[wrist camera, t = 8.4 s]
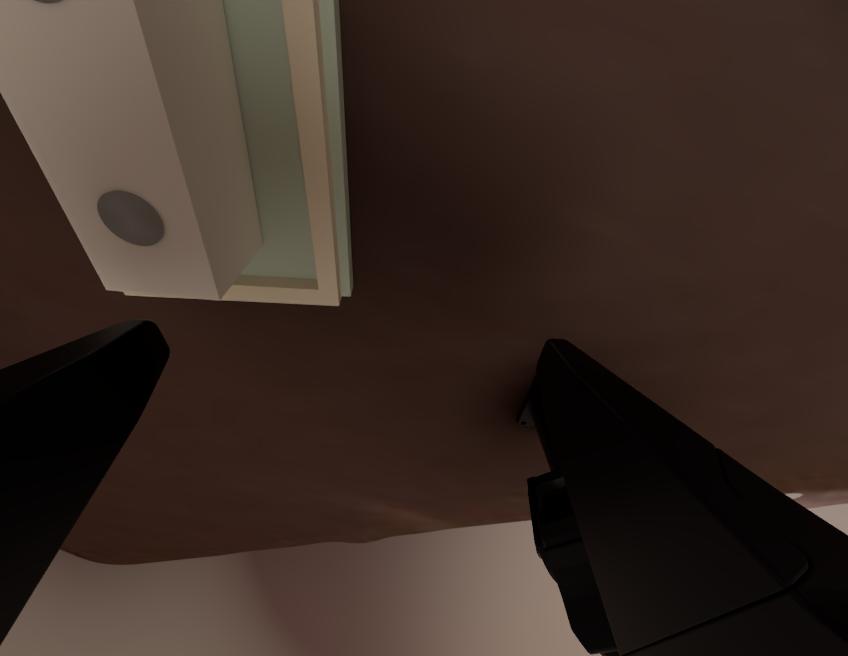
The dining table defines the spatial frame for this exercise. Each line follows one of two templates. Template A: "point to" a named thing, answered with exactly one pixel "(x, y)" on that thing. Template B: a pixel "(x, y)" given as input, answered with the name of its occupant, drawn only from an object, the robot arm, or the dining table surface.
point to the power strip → (137, 136)
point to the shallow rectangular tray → (293, 149)
